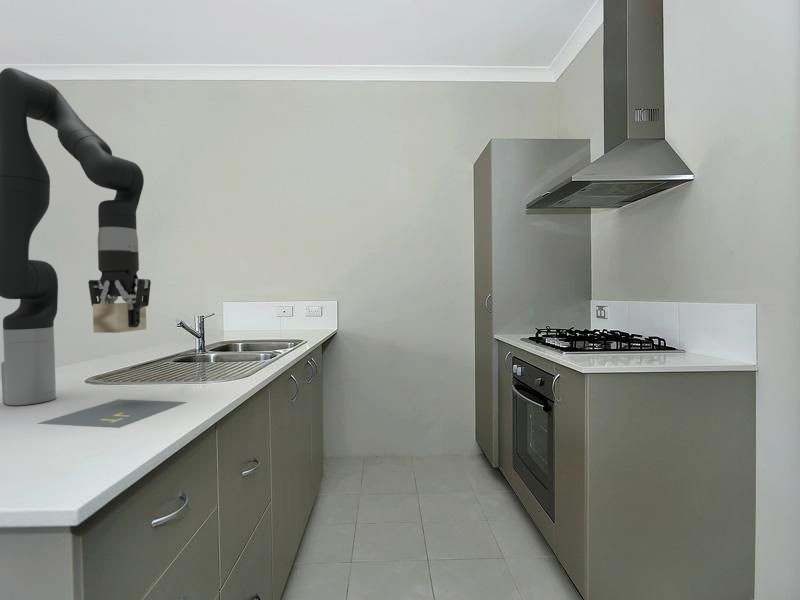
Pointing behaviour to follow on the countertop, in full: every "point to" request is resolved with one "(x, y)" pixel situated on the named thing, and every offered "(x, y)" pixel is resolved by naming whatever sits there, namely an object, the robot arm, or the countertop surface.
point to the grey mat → (114, 413)
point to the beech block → (115, 318)
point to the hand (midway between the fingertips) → (120, 326)
